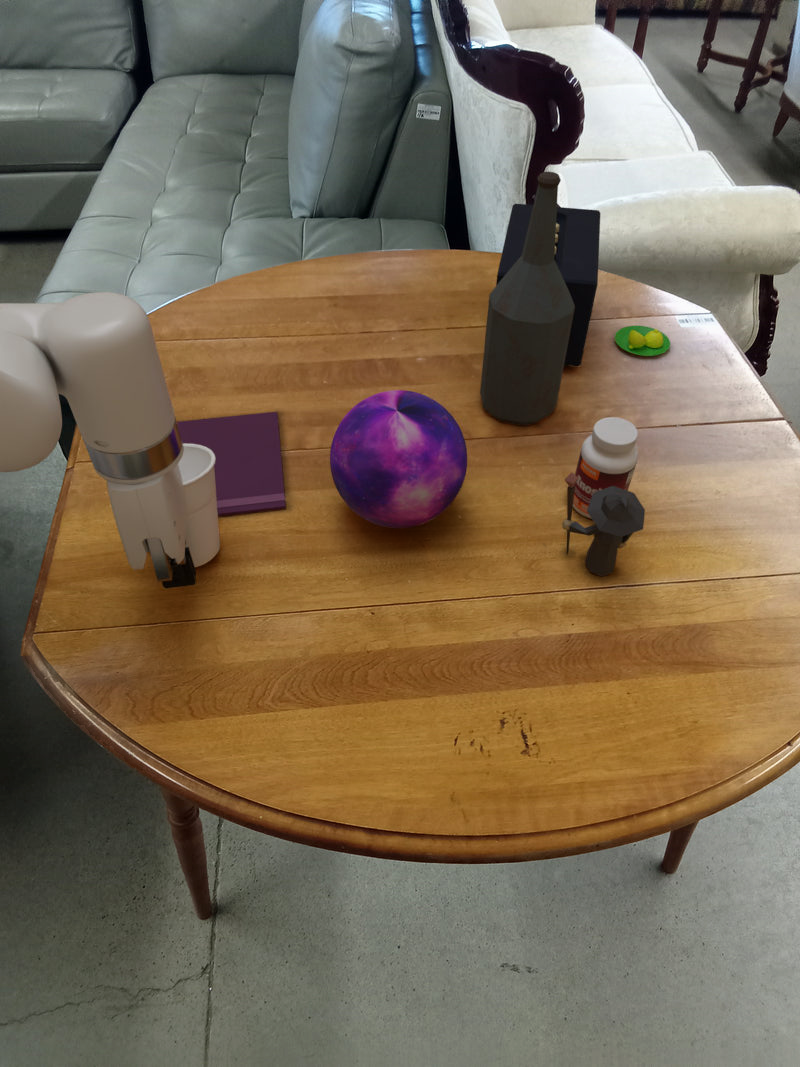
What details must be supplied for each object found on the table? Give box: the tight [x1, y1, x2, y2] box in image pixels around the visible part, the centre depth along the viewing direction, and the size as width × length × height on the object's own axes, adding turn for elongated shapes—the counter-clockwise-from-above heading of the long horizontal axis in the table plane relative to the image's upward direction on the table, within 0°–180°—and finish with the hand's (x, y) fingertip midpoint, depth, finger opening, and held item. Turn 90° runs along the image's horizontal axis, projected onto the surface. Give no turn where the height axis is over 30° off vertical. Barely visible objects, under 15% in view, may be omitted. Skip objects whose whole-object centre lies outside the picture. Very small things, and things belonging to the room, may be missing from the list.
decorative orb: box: [329, 389, 468, 529], centre depth 83 cm, size 15×15×15 cm
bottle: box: [479, 171, 575, 426], centre depth 91 cm, size 10×10×30 cm
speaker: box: [495, 203, 601, 368], centre depth 109 cm, size 22×13×15 cm, turn 169°
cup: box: [178, 443, 221, 568], centre depth 79 cm, size 10×10×11 cm
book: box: [177, 411, 287, 518], centre depth 93 cm, size 14×18×1 cm
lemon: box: [614, 325, 671, 357], centre depth 111 cm, size 8×8×3 cm
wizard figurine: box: [561, 471, 646, 577], centre depth 78 cm, size 8×6×12 cm
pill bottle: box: [573, 416, 639, 520], centre depth 85 cm, size 6×6×11 cm
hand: (180, 580), depth 77 cm, fingers closed
